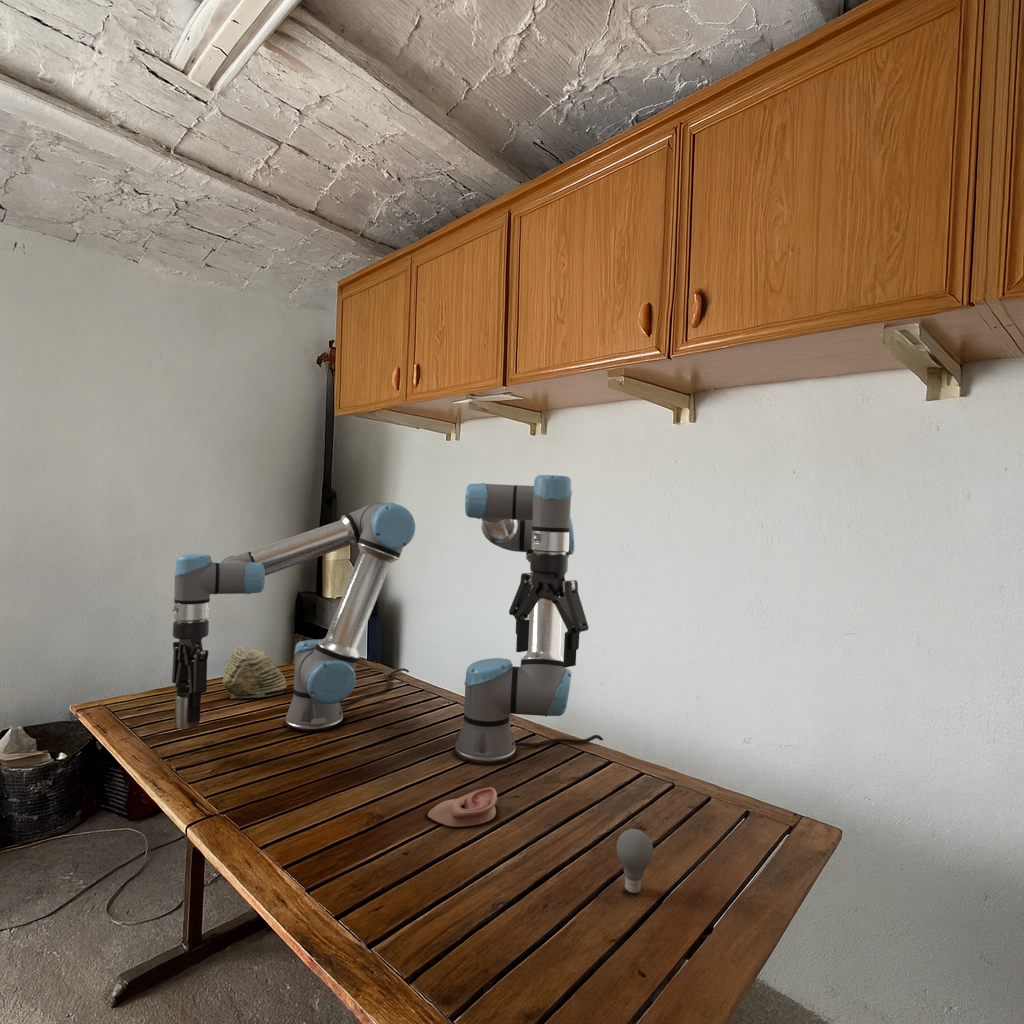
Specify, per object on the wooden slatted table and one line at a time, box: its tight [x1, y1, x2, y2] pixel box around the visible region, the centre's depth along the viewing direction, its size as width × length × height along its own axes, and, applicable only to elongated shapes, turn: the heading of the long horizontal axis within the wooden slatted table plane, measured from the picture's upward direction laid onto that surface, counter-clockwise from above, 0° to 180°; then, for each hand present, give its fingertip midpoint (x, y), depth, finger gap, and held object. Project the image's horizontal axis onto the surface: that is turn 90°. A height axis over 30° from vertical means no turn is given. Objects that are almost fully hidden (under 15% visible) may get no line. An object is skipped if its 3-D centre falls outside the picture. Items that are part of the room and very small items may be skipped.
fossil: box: [222, 646, 288, 699], centre depth 198 cm, size 9×18×15 cm, turn 132°
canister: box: [174, 691, 201, 730], centre depth 149 cm, size 5×5×7 cm
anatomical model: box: [427, 787, 498, 828], centre depth 129 cm, size 13×4×12 cm
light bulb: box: [615, 828, 654, 894], centre depth 106 cm, size 6×6×10 cm
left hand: (187, 717), depth 149 cm, fingers closed on canister, 5 cm apart
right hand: (544, 658), depth 127 cm, fingers open, 13 cm apart
